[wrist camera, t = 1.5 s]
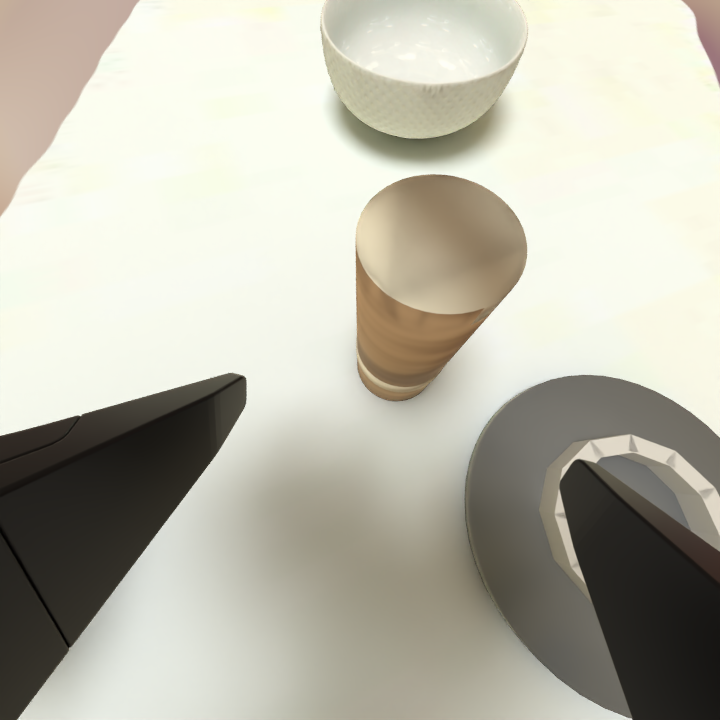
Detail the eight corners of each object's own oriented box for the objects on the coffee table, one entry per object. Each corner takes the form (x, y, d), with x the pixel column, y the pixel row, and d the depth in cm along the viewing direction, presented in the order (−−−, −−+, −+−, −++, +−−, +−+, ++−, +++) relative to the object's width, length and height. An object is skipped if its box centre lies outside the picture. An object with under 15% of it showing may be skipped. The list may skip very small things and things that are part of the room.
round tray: (648, 808, 15) (704, 874, 12) (406, 491, 19) (412, 495, 17) (823, 546, 18) (892, 558, 16) (585, 332, 23) (611, 317, 20)
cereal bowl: (304, 149, 29) (288, 55, 22) (354, 48, 34) (353, -52, 28) (479, 187, 28) (517, 99, 21) (503, 76, 33) (540, -23, 26)
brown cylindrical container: (390, 418, 21) (436, 352, 8) (341, 357, 22) (319, 225, 10) (449, 370, 22) (565, 250, 10) (399, 315, 23) (444, 150, 11)
